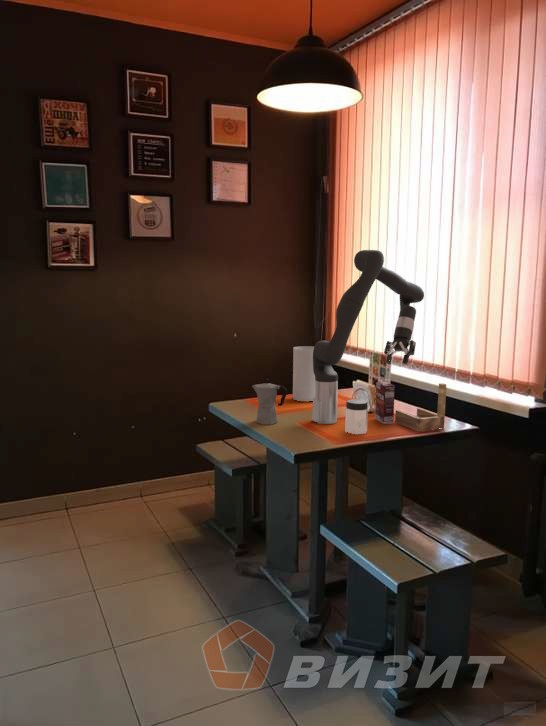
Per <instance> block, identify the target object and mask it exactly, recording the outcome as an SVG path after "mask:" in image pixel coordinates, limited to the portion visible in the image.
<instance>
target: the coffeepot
mask: <svg viewBox="0 0 546 726" xmlns="http://www.w3.org/2000/svg"><path fill="white" fill-rule="evenodd" d="M264 382H265V383H259V384H253V385H252V386H251V387H252V388H253V389H254V391H255V393H256V397H257V403H258V408H257V412H256V414H257V415H256V420H255V423H256V424H258V423H260V424H259V425H262V424H271V425H275V424H274V423H276V424H277V423H278V417H277V409H276V400H277V394H278V391H282V394H281V398H280V403H279V402H278V403H277V406H279V407H280V406H284V402H285V400H286V397H287V394H288V389H287V388H286V387H285V385H279V384H278V385H277V384H273V383H270V382H269V378H264Z"/></svg>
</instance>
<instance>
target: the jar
mask: <svg viewBox="0 0 546 726" xmlns="http://www.w3.org/2000/svg"><path fill="white" fill-rule="evenodd" d="M345 403H346V404H345V405H346V407H345V419H344V420H345V421H344V422H345V423H344V424H345V426H344V432H345V433H347V432H348V433H347V434H350V433H352V435H354V434H355V435H365V434H366V433H367V431H368V418H369V417H368V413H369V410H368V409H369V408H368V405H369V404H368V401H367V400H366V399H359V398H353V399H348V400H346V402H345Z"/></svg>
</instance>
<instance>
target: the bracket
mask: <svg viewBox="0 0 546 726" xmlns="http://www.w3.org/2000/svg"><path fill="white" fill-rule="evenodd" d="M446 395H447V384H446V383H444V382H443V383H438V395H437V397H438V398H437V410H436V411H437V412H436V413H435V412H433V411H430V410H427V409H425V408H422V407H417V408H416V414H414V415H413V414H410V413H408V412H405V411H403V410H401V409H395V419H394V421H395V423H396V424H399V425H400V426H401V425H402V426H404V427H406V428H409V429H410V428H411V430H413V431H415V430H416V432H418V431H422V432H426V431H425V430H431V431H433V430H432V429H439V428H444V429H445V419H446V418H445V417H446V397H447V396H446Z"/></svg>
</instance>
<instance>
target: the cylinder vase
mask: <svg viewBox="0 0 546 726" xmlns="http://www.w3.org/2000/svg"><path fill="white" fill-rule="evenodd" d="M292 349H293V350H292V351H293V352H292V353H293V355H292V356H293V359H292V363H293V365H292V372H293V373H292V399H293V400H294V401H295V400H298V401H313V398H315V375H314V372H313V350H314V346H312V345H311V346H307V345H306V346H305V345H304V346H302V345H301V346H293V348H292ZM298 401H297V402H298Z"/></svg>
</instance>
